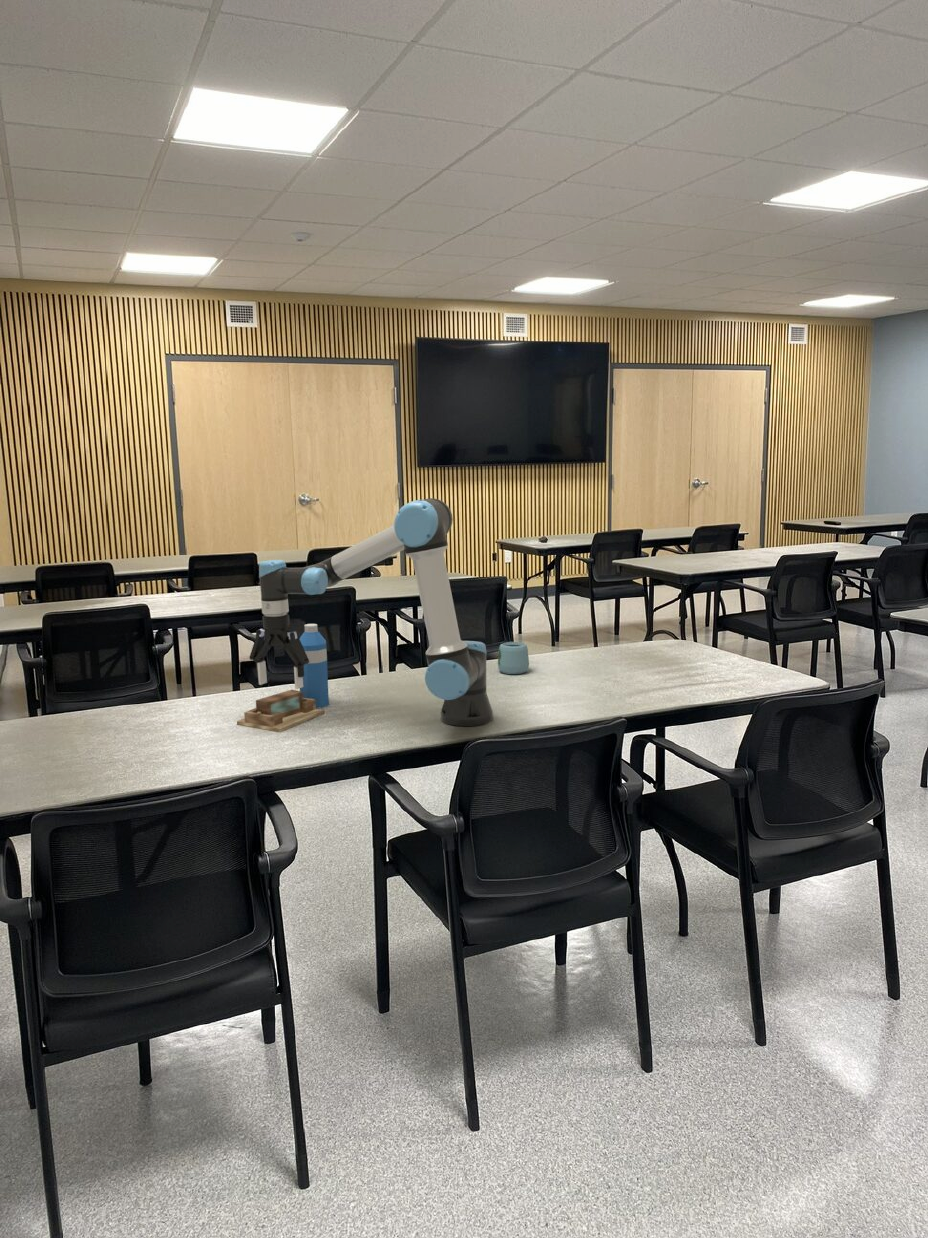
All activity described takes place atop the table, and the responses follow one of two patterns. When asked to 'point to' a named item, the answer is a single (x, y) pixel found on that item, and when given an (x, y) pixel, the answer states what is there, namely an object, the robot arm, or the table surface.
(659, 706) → the table surface
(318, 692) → the water bottle
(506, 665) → the mug
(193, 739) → the table surface
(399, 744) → the table surface
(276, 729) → the cleat board
